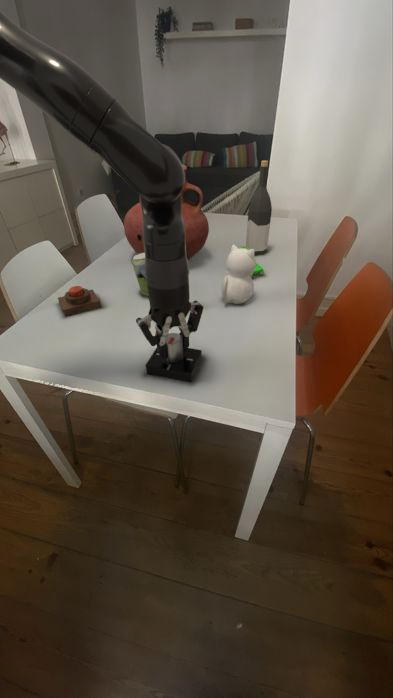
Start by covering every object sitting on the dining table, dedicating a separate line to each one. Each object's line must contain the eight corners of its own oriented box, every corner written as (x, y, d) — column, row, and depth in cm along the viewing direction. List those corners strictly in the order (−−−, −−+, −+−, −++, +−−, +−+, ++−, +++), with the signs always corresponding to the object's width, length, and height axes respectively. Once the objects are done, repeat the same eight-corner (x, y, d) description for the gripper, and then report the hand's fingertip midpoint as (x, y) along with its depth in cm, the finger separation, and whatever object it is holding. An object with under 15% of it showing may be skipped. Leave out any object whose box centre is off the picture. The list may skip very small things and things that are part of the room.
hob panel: (146, 374, 67) (145, 365, 66) (160, 351, 74) (159, 342, 72) (191, 383, 65) (191, 373, 64) (202, 358, 71) (201, 349, 70)
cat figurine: (259, 295, 94) (265, 245, 84) (237, 313, 86) (241, 260, 77) (233, 287, 98) (236, 239, 89) (210, 304, 90) (210, 252, 81)
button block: (65, 317, 86) (61, 304, 84) (59, 304, 92) (55, 291, 89) (101, 307, 90) (98, 294, 88) (94, 295, 96) (91, 283, 93)
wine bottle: (271, 252, 120) (282, 161, 101) (254, 257, 117) (263, 163, 98) (257, 246, 125) (266, 158, 107) (241, 250, 122) (247, 160, 104)
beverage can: (160, 297, 94) (156, 258, 86) (135, 298, 94) (129, 259, 87) (162, 288, 99) (158, 250, 91) (138, 288, 99) (133, 250, 92)
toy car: (228, 267, 110) (229, 249, 105) (244, 263, 112) (246, 245, 108) (247, 280, 102) (249, 260, 98) (264, 275, 104) (267, 256, 100)
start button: (72, 298, 87) (70, 293, 86) (69, 293, 89) (67, 287, 88) (85, 295, 88) (83, 289, 87) (82, 290, 91) (80, 284, 90)
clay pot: (118, 272, 108) (99, 173, 90) (141, 242, 131) (130, 158, 113) (203, 276, 105) (203, 173, 86) (212, 244, 128) (213, 158, 109)
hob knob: (168, 350, 70) (167, 330, 67) (186, 353, 69) (185, 333, 66) (162, 361, 67) (159, 341, 64) (180, 364, 66) (178, 344, 63)
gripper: (192, 262, 62) (194, 333, 72) (122, 279, 56) (135, 354, 67) (212, 276, 57) (211, 351, 67) (138, 297, 51) (149, 375, 62)
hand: (173, 352), depth 67 cm, fingers closed on hob knob, 4 cm apart
